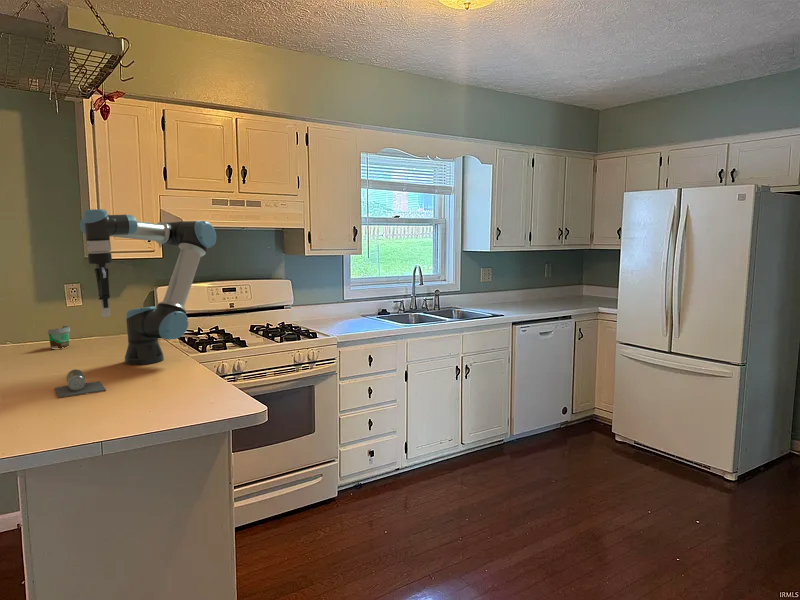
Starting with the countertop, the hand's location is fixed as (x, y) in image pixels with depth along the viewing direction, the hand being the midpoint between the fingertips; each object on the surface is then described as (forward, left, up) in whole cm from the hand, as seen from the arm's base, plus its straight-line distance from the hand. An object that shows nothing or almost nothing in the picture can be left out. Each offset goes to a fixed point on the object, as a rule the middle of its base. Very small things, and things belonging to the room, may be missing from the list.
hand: (106, 316), depth 206 cm
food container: (-82, -8, -24) cm, 86 cm away
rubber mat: (+11, -11, -24) cm, 28 cm away
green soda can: (+2, -11, -20) cm, 23 cm away
